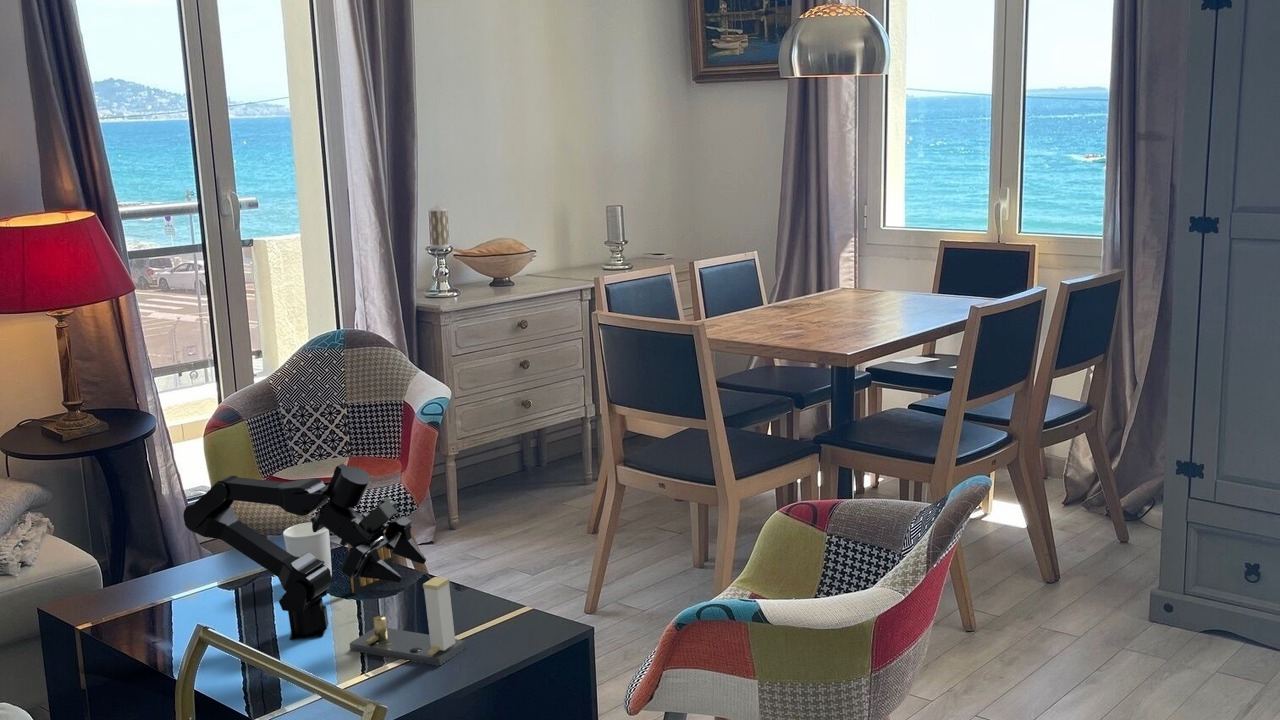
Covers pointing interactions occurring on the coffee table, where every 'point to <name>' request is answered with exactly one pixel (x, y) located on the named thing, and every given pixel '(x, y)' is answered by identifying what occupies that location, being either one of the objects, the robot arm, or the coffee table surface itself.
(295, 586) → the robot arm
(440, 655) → the plate
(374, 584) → the ammunition clip
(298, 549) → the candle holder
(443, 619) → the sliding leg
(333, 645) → the coffee table surface
